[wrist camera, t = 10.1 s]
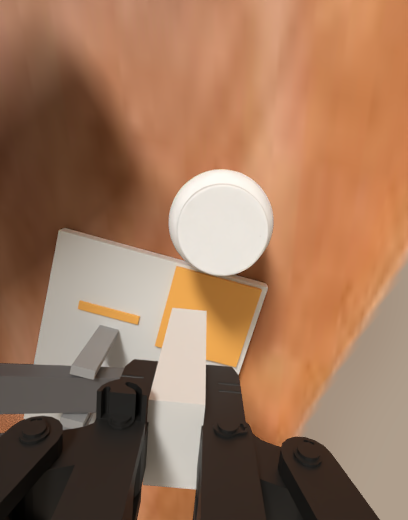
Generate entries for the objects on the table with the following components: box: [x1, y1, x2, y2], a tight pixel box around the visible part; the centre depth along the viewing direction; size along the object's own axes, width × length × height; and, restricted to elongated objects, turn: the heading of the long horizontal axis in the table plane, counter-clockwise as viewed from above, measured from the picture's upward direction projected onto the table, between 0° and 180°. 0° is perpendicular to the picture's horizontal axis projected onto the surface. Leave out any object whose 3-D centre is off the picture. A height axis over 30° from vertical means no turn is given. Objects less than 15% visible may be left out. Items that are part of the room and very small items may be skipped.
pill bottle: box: [169, 169, 273, 276], centre depth 24 cm, size 6×6×11 cm
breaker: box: [0, 363, 125, 414], centre depth 25 cm, size 11×3×2 cm, turn 73°
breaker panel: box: [24, 228, 268, 430], centre depth 28 cm, size 17×18×8 cm
